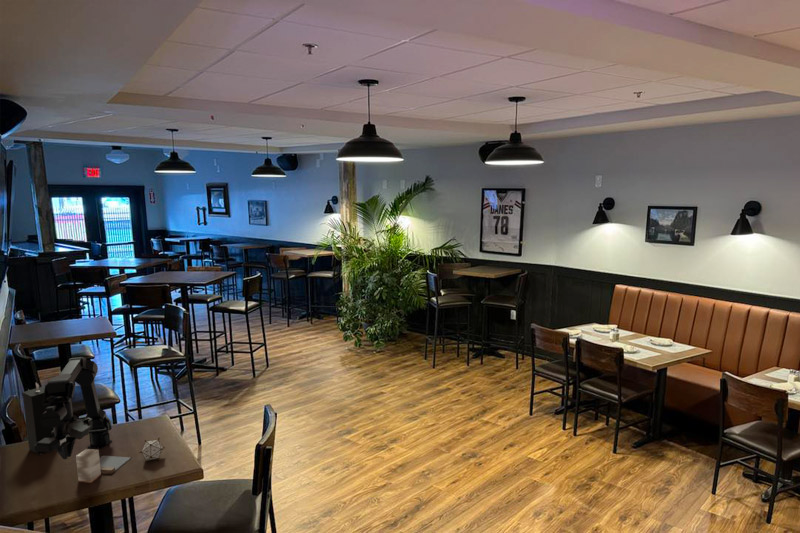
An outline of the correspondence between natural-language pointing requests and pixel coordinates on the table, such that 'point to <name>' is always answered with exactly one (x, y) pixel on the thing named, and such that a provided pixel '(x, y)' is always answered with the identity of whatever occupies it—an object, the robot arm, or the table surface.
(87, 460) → the marked block
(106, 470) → the stop rail
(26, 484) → the table surface
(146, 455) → the game die
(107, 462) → the mat
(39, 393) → the tall black block
